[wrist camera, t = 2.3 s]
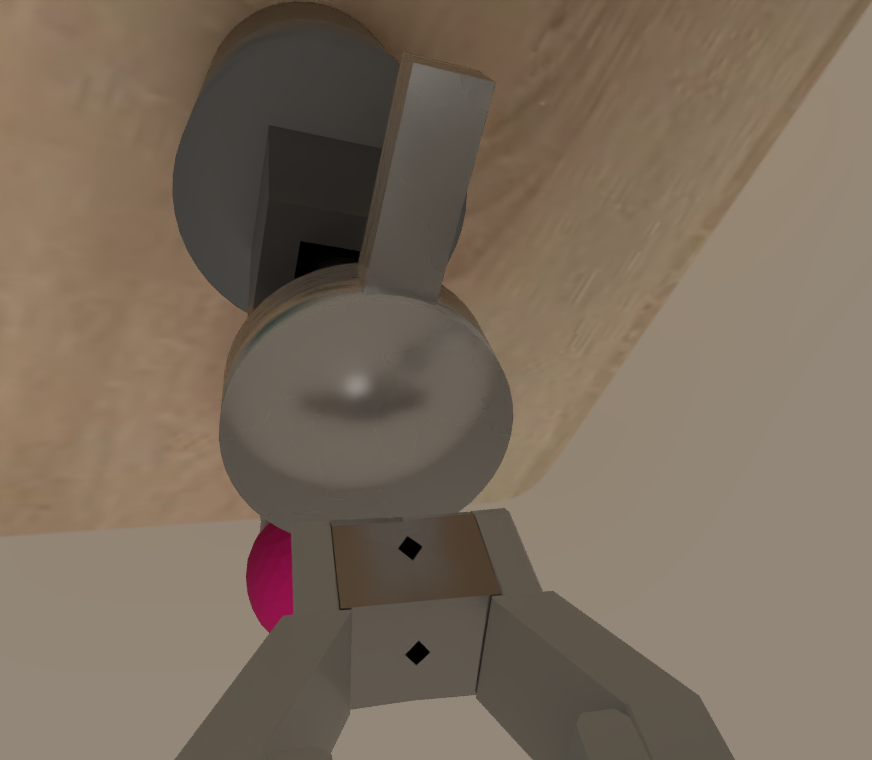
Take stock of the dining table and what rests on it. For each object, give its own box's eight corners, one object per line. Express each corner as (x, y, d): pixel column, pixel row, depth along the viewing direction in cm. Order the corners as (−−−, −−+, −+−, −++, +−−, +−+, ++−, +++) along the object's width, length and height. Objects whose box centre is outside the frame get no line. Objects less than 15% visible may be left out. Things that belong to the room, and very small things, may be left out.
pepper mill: (281, 286, 40) (291, 556, 23) (397, 344, 43) (480, 621, 26) (218, 391, 42) (185, 705, 25) (332, 439, 45) (370, 747, 28)
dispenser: (216, -23, 32) (152, 47, 14) (421, 30, 34) (582, 145, 17) (196, 184, 36) (127, 437, 18) (380, 218, 39) (473, 468, 21)
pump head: (270, -18, 17) (271, 30, 9) (482, 38, 18) (623, 116, 11) (227, 321, 21) (204, 537, 13) (404, 345, 22) (470, 552, 15)
